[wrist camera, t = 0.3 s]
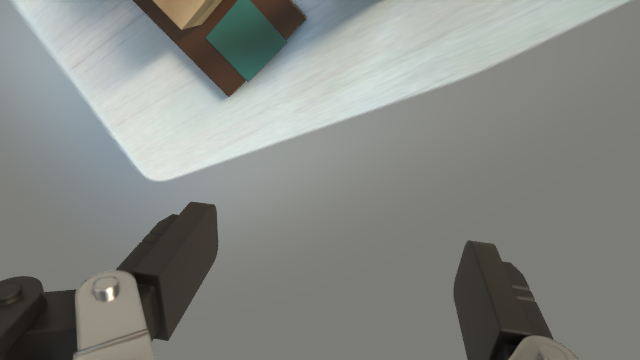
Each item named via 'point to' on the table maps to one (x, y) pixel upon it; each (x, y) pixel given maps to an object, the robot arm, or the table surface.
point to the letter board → (226, 33)
